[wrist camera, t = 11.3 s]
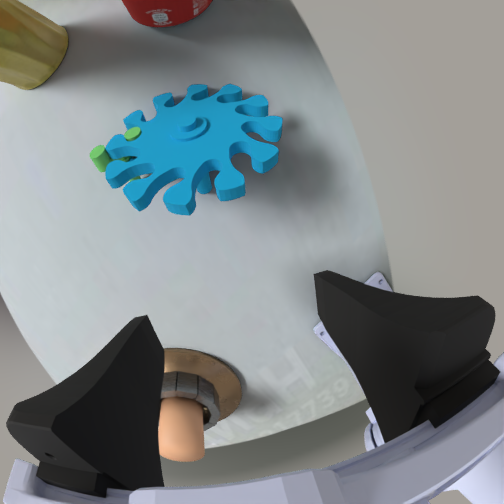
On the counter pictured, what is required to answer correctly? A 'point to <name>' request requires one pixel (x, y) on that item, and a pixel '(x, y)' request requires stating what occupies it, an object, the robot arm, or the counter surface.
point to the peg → (181, 429)
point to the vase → (28, 45)
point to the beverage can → (165, 11)
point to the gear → (190, 147)
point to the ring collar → (201, 383)
